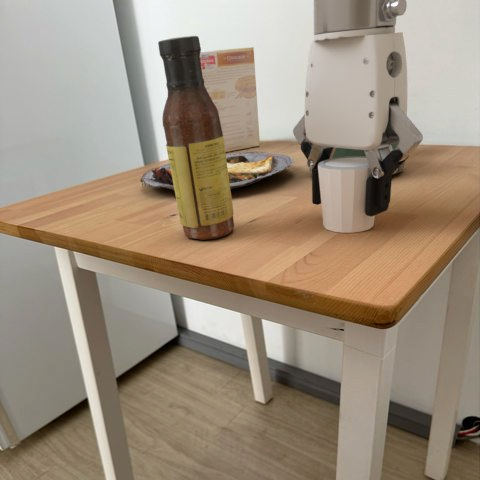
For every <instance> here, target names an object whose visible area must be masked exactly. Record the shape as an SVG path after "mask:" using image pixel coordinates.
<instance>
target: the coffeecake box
mask: <svg viewBox="0 0 480 480" xmlns="http://www.w3.org/2000/svg"><path fill="white" fill-rule="evenodd" d="M200 61H201V68H202V76H203V79H204V86H205V88H206V90H207V92H208V94H209V96H210V97H211V99H212V101H213V103H214V104H215V106H216V108H217V110H218V114H219V119H220V123H221V128H222V132H223V138H224V146H225V153H229V152H230V153H231V152H235V151H240V150H245V149H250V148H255V147H260V146H261V140H260V139H261V138H260V125H259V124H260V123H259V110H258V95H257V94H258V93H257V80H256V65H255V51H254V47H253V46H252V47H239V48H225V49H215V50H205V51H201V52H200Z"/></svg>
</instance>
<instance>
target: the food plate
mask: <svg viewBox="0 0 480 480" xmlns="http://www.w3.org/2000/svg"><path fill="white" fill-rule="evenodd" d="M226 161H227V168H228V176H229V183H230V190H232V189H236V188H237V189H238V188H242V187H245V186H249V185H253V184H255V183H258V182H260V181H262V180H263V179H265V178H267V177H271V176H273V175H274V174H277V173H281V172H283V171H284V170H286V169H287V168H290V167H291V166H292V165H293V164H294V163H295V160H294V158H293V157H291V156H289V155H286V154H280V153H271V152H267V151H243V152H234V153H227V154H226ZM139 182H141V186H145V187H146V185H148V187H149V188H154V187H157V188H166V189H169V190H172V191H173V192H175V190H174V184H173V179H172V174H171V168H170V163H167V164H164V165H161V166H159V167H155V168H151V169H150V170H148V171H146V172H144V173H143V174H142V176H141V178H140V180H139Z"/></svg>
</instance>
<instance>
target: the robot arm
mask: <svg viewBox="0 0 480 480" xmlns="http://www.w3.org/2000/svg"><path fill="white" fill-rule="evenodd" d="M312 2H313V5H312V6H313V41H310V45H309V52H308V57H307V58H308V59H307V66H306V73H305V74H306V75H305V88H304V114H303V116H302V117H301V118H300V119H299V121H298V122H297V124H296V125H295V126H294V127H293V129H292V134H293V135H294V138H295V139H296V141H297V143H298V144H299V146H300V151H301V152H302V153H303V155H304V157H305V158H306V160H307V161H306V165H307V167H308V168H309V170H310V169H312V174H311V203H312V204H313V205H315V206H316V205H317V206H318V205H321V194H320V184H319V173H318V164H319V162H322V161H324V160H327V159H332V157H333V155H334V152H335V150H336V148H346V149H357V150H364V152H365V155H366V158H367V161H368V164H369V167H370V170H371V173H372V176H371V177H368V178H367V181H366V202H365V214H366V215H367V216H374V215H375V216H376V215H379V214H382V213H385V212H386V211H388V209H389V207H390V203H391V197H392V195H391V193H392V181H393V175H392V173H395V172H397V170H398V167H399V166H401V165H402V164H403V163H404V162H405V163H406V161H407V160H408V158H409V157H410V155H411V154H412V153H413V152H414V151H415V150H416V148H418V146H419V145H420V144H421V143H422V141H423V140H424V136H423V134H422V132H421V131H420V130H419V128H418V127H417V126H416V125H415V124H414V123H413V122H412V120H411V119H410V118H409V117H408V65H407V64H408V63H407V54H406V45H405V39H404V32H403V31H401V32H396V25H397V17H399V16H403V15H405V13H406V10H407V7H408V6H407V5H408V4H407V0H313V1H312ZM397 142H399V143H398V145H397V147H396V148H395V149H394V150H393V148H392V145H391V144H393V143H397ZM323 149H324V150H323ZM379 152H380V154H379ZM380 155H381V157H380ZM381 158H382V160H381Z"/></svg>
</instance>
